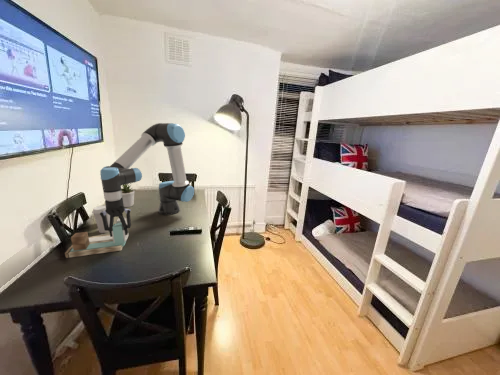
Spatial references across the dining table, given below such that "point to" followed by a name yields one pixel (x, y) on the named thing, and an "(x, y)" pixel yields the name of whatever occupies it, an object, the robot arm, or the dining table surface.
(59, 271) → the dining table surface
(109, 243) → the strip teal
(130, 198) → the potted plant
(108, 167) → the robot arm
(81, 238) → the block
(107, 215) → the coffee cup
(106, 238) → the strip grey
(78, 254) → the board
